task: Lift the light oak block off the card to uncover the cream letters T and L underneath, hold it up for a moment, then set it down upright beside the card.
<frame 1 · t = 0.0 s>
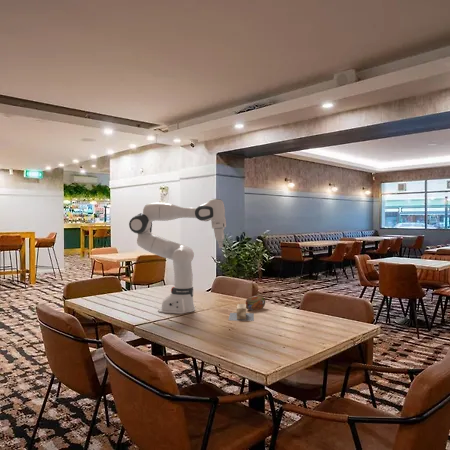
hand: (221, 247, 246), 39 cm above the table, tool pointing down, fingers open, 8 cm apart
code card: (241, 316, 231), on the table
tin: (255, 309, 251), on the table
oak block: (241, 316, 231), resting on code card
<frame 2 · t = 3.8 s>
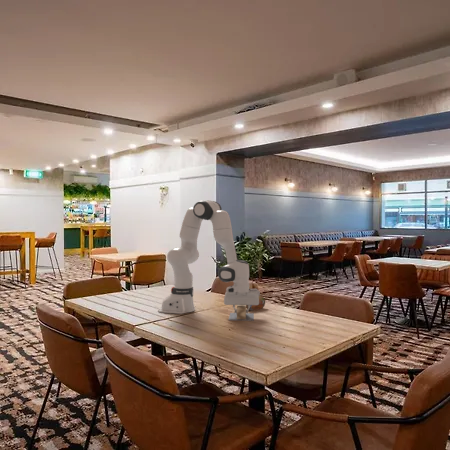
hand: (241, 312, 231), 3 cm above the table, tool pointing down, fingers closed on oak block, 5 cm apart
oak block: (241, 316, 231), resting on code card, touching gripper
everything else where it was.
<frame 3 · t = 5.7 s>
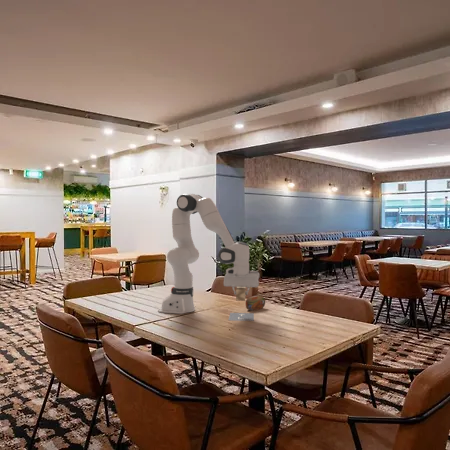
hand: (240, 294, 231), 13 cm above the table, tool pointing down, fingers closed on oak block, 5 cm apart
oak block: (240, 298, 231), point 11 cm above the table, touching gripper
everything else where it was.
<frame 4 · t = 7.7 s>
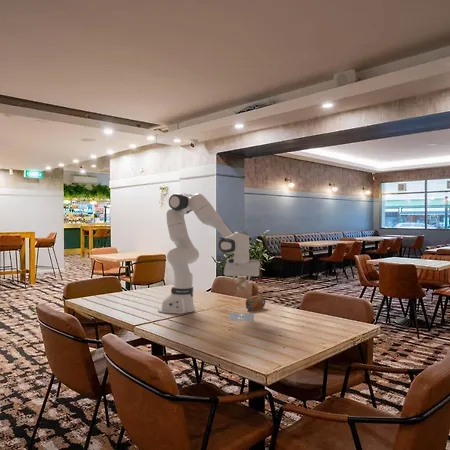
hand: (241, 283, 231), 19 cm above the table, tool pointing down, fingers closed on oak block, 5 cm apart
oak block: (241, 287, 231), point 17 cm above the table, touching gripper
everything else where it was.
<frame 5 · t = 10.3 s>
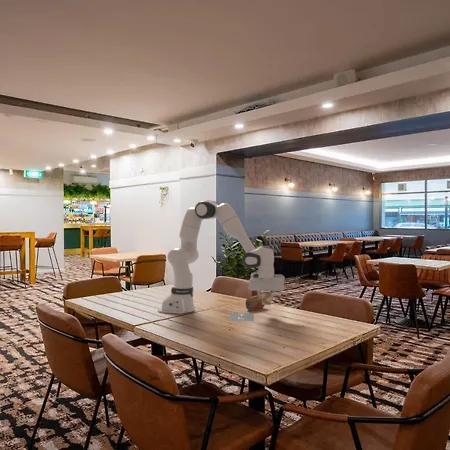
hand: (266, 298, 230), 11 cm above the table, tool pointing down, fingers closed on oak block, 5 cm apart
oak block: (266, 302, 230), point 9 cm above the table, touching gripper
everything else where it was.
when the fingers open (4 cm above the table, at t = 12.0 s): oak block drops 1 cm, on the table.
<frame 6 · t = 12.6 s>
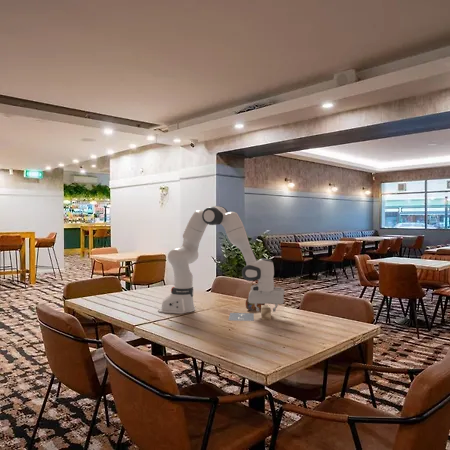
hand: (265, 311, 230), 4 cm above the table, tool pointing down, fingers open, 8 cm apart
oak block: (265, 317, 231), on the table
everything else where it was.
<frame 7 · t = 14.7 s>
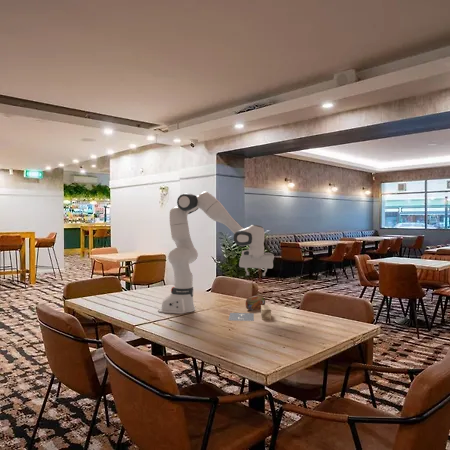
hand: (255, 275, 239), 23 cm above the table, tool pointing down, fingers open, 8 cm apart
nothing on the table moved.
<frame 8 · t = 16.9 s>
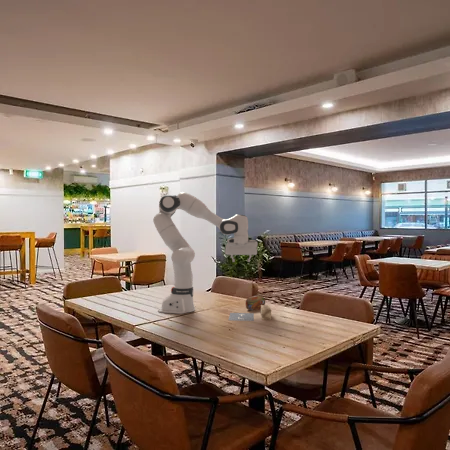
hand: (241, 261, 255), 29 cm above the table, tool pointing down, fingers open, 8 cm apart
nothing on the table moved.
at the end: oak block inside the target area (0.1 cm from its centre), on the table; oak block tilted 0°; the gripper is holding nothing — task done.
